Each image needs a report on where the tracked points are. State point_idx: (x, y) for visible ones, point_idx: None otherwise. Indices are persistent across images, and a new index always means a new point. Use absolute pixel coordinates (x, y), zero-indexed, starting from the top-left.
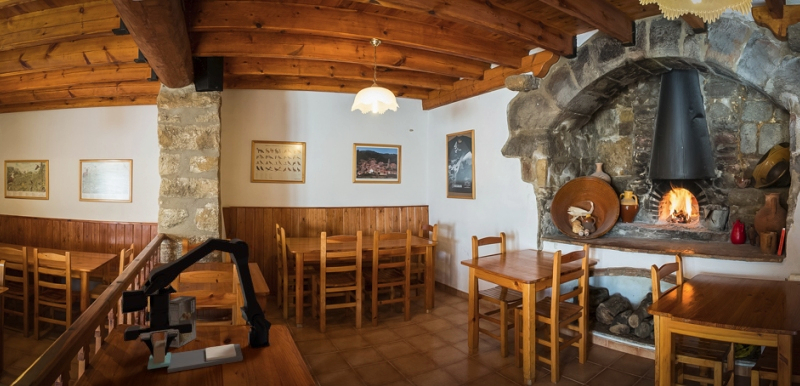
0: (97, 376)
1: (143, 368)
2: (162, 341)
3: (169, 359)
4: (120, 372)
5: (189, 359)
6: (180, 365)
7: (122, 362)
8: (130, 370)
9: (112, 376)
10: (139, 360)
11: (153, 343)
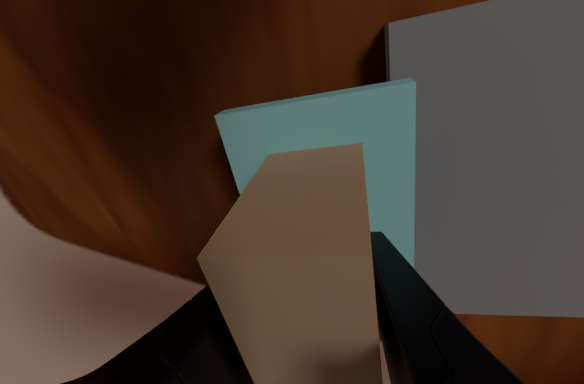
0: (55, 218)
1: (234, 194)
2: (326, 305)
3: (408, 254)
4: (132, 207)
5: (582, 223)
6: (484, 296)
7: (37, 48)
8: (171, 198)
9: (124, 239)
10: (137, 34)
11: (215, 334)
